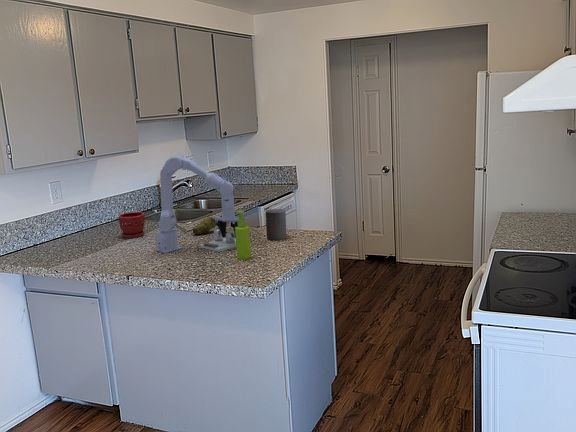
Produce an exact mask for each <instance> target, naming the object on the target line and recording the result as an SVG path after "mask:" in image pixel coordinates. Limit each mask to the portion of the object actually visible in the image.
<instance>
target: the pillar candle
mask: <svg viewBox="0 0 576 432" xmlns="http://www.w3.org/2000/svg"><path fill="white" fill-rule="evenodd" d="M264 213H265V226H266V229H265V230H266V239H267V241H273V242H274V241H283V240H286V239H287V238H288V234H287V219H286V217H287V216H286V215H287V214H286V209H284V208H270V209H266V210H265V211H264Z"/></svg>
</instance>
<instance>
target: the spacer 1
mask: <svg viewBox="0 0 576 432" xmlns="http://www.w3.org/2000/svg"><path fill="white" fill-rule="evenodd" d="M213 237H214V239H213V240H215V241H223V238H224V237H222V235H221V232H220V230H219V228H217V229H213Z"/></svg>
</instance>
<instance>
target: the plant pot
mask: <svg viewBox="0 0 576 432" xmlns="http://www.w3.org/2000/svg"><path fill="white" fill-rule="evenodd" d="M145 218H146V217H145V213H144V212H142V211H141V212H140V211H130V212H124V213H121V214H119V215H118V224H119V227H120V229H121V236H122V238H126V239H135V238H139V237H142V236H143V235H144V234H145V231H144V229H145V225H146V224H145V223H146V219H145Z"/></svg>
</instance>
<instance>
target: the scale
mask: <svg viewBox="0 0 576 432" xmlns="http://www.w3.org/2000/svg"><path fill="white" fill-rule="evenodd" d="M198 247H199V248H201V249H206V250H209V251H215V252H219V253H220V252H223V251H227V250H230V249H234V248H237V247H236V239H235V243H232V244H227V243H226V237H223V241H215V239H213V240H211V241H209V242H208V241H207V242H204V243H201V244H199V245H198Z"/></svg>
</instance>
